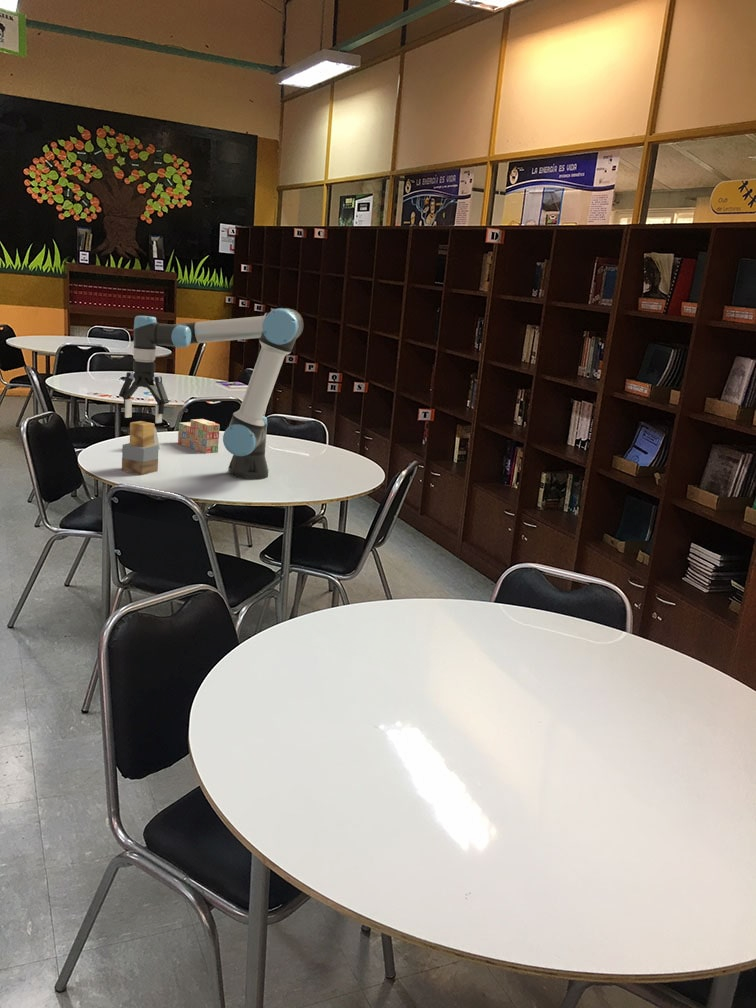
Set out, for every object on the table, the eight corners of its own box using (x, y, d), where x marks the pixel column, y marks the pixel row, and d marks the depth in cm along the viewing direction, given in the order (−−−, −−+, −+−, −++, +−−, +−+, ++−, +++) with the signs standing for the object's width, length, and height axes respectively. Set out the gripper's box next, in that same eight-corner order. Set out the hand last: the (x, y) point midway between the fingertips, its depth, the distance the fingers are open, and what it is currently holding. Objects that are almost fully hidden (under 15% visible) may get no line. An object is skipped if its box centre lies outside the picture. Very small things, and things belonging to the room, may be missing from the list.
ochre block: (153, 445, 302) (154, 423, 300) (142, 447, 296) (143, 425, 294) (140, 442, 304) (141, 421, 302) (129, 444, 299) (130, 422, 297)
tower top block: (158, 458, 304) (158, 445, 303) (143, 462, 296) (143, 448, 294) (137, 454, 307) (137, 441, 306) (122, 458, 299) (122, 444, 297)
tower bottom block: (157, 471, 305) (158, 458, 304) (141, 475, 297) (142, 462, 296) (137, 467, 308) (138, 454, 307) (121, 471, 300) (122, 458, 299)
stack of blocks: (177, 443, 357) (178, 415, 354) (189, 442, 361) (191, 414, 358) (205, 453, 343) (207, 424, 339) (218, 452, 347) (220, 423, 344)
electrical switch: (143, 452, 333) (142, 429, 331) (134, 451, 335) (133, 428, 333) (160, 450, 341) (159, 427, 339) (150, 449, 343) (149, 426, 341)
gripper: (179, 364, 291) (178, 423, 297) (123, 356, 301) (122, 414, 306) (166, 365, 284) (164, 426, 290) (109, 356, 294) (108, 416, 299)
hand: (143, 420), depth 298 cm, fingers open, 13 cm apart
